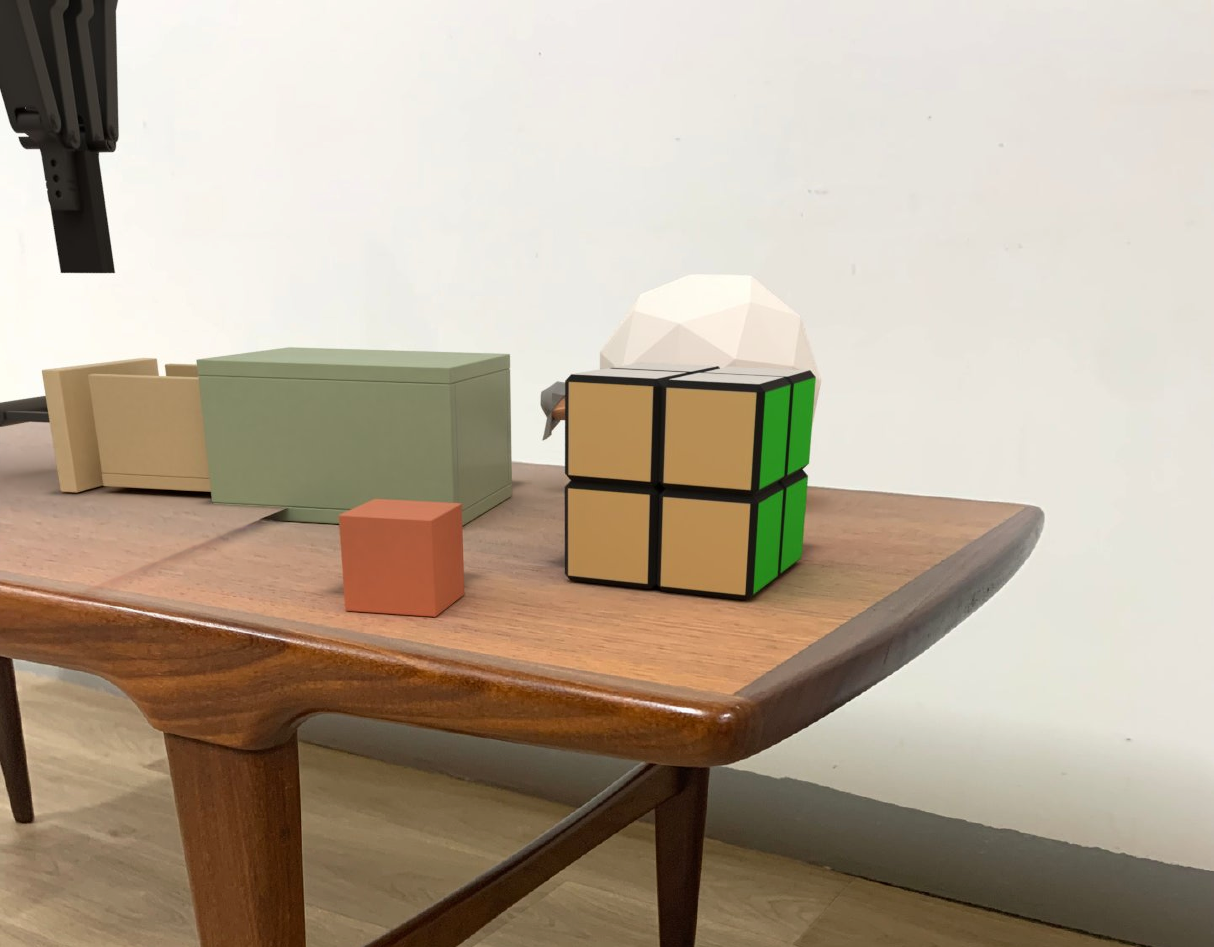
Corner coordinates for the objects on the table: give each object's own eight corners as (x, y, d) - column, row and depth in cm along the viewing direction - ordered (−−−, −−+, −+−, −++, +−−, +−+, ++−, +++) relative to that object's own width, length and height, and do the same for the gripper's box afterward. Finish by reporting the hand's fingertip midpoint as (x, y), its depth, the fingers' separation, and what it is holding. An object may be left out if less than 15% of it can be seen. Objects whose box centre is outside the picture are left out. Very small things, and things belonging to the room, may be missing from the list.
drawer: (-34, 486, 81) (-56, 366, 78) (71, 462, 92) (54, 355, 89) (272, 503, 77) (260, 377, 74) (345, 475, 88) (337, 364, 85)
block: (344, 610, 58) (338, 514, 56) (379, 589, 62) (374, 498, 60) (435, 617, 57) (431, 520, 55) (464, 594, 61) (462, 503, 59)
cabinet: (213, 517, 78) (195, 359, 74) (299, 485, 89) (288, 347, 86) (455, 531, 75) (449, 367, 71) (512, 496, 87) (510, 354, 83)
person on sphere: (842, 443, 91) (583, 463, 97) (824, 223, 82) (539, 261, 88) (817, 540, 81) (529, 555, 87) (794, 301, 71) (473, 337, 77)
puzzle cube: (633, 545, 72) (638, 361, 68) (803, 562, 69) (818, 370, 65) (561, 581, 64) (561, 374, 60) (750, 603, 60) (764, 384, 56)
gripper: (4, -262, 60) (85, 274, 69) (143, -175, 72) (196, 273, 81) (-135, -252, 61) (-37, 273, 70) (24, -169, 73) (90, 272, 82)
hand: (88, 272), depth 76 cm, fingers closed
